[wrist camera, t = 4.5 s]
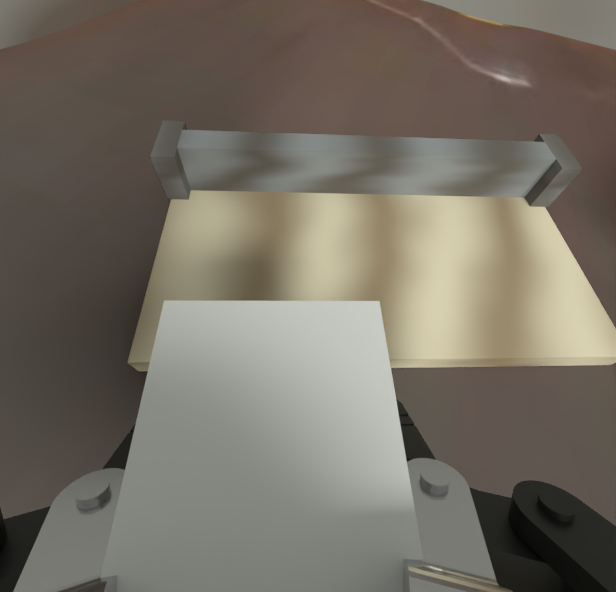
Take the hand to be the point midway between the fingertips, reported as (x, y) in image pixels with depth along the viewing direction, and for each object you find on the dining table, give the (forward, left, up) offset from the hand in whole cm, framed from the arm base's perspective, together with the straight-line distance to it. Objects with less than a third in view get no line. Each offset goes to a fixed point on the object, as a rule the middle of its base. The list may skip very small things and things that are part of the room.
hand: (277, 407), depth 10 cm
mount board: (+5, +10, -4) cm, 12 cm away
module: (0, -2, -4) cm, 5 cm away
